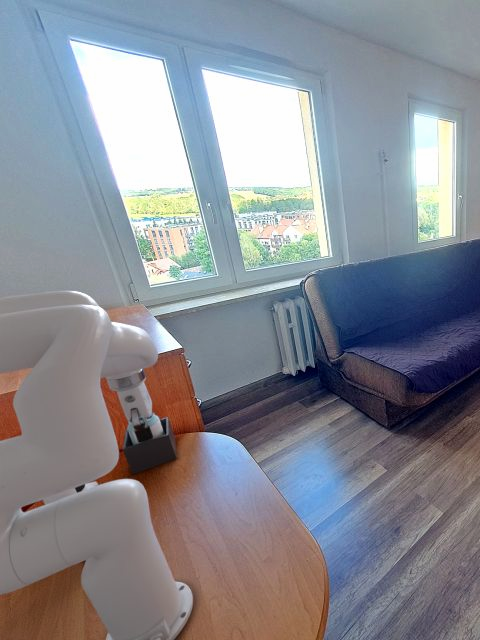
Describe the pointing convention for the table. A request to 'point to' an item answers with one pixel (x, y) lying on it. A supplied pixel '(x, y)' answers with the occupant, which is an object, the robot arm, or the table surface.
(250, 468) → the table surface
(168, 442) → the bin
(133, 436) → the can
